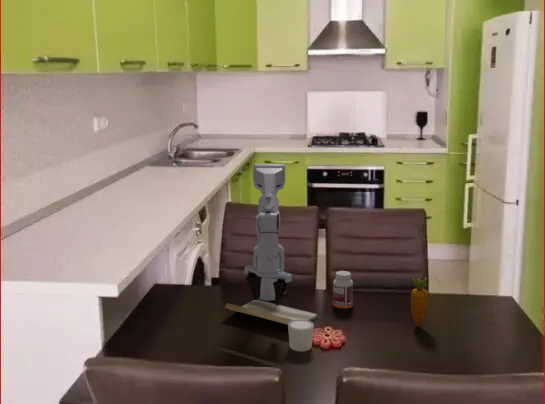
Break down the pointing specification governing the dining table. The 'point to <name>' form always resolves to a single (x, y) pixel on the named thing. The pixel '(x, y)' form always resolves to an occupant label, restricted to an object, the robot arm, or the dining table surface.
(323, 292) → the dining table surface
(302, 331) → the white cup
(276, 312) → the laid plank
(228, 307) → the oak plank
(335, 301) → the pill bottle
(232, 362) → the dining table surface
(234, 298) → the dining table surface
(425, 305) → the carrot
